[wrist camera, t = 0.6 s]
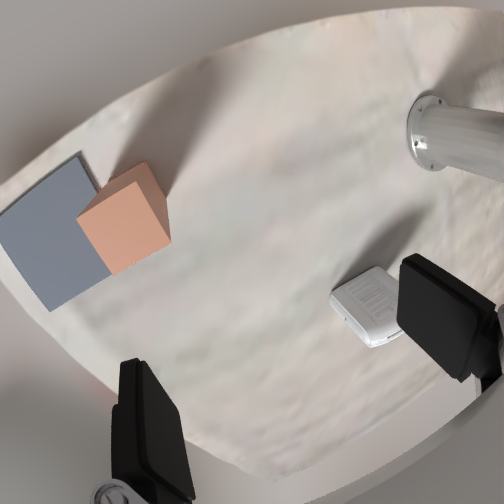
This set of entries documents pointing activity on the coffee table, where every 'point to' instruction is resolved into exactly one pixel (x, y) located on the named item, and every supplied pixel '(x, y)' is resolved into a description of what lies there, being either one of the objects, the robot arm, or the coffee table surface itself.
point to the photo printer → (369, 306)
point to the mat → (54, 237)
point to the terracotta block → (127, 219)
